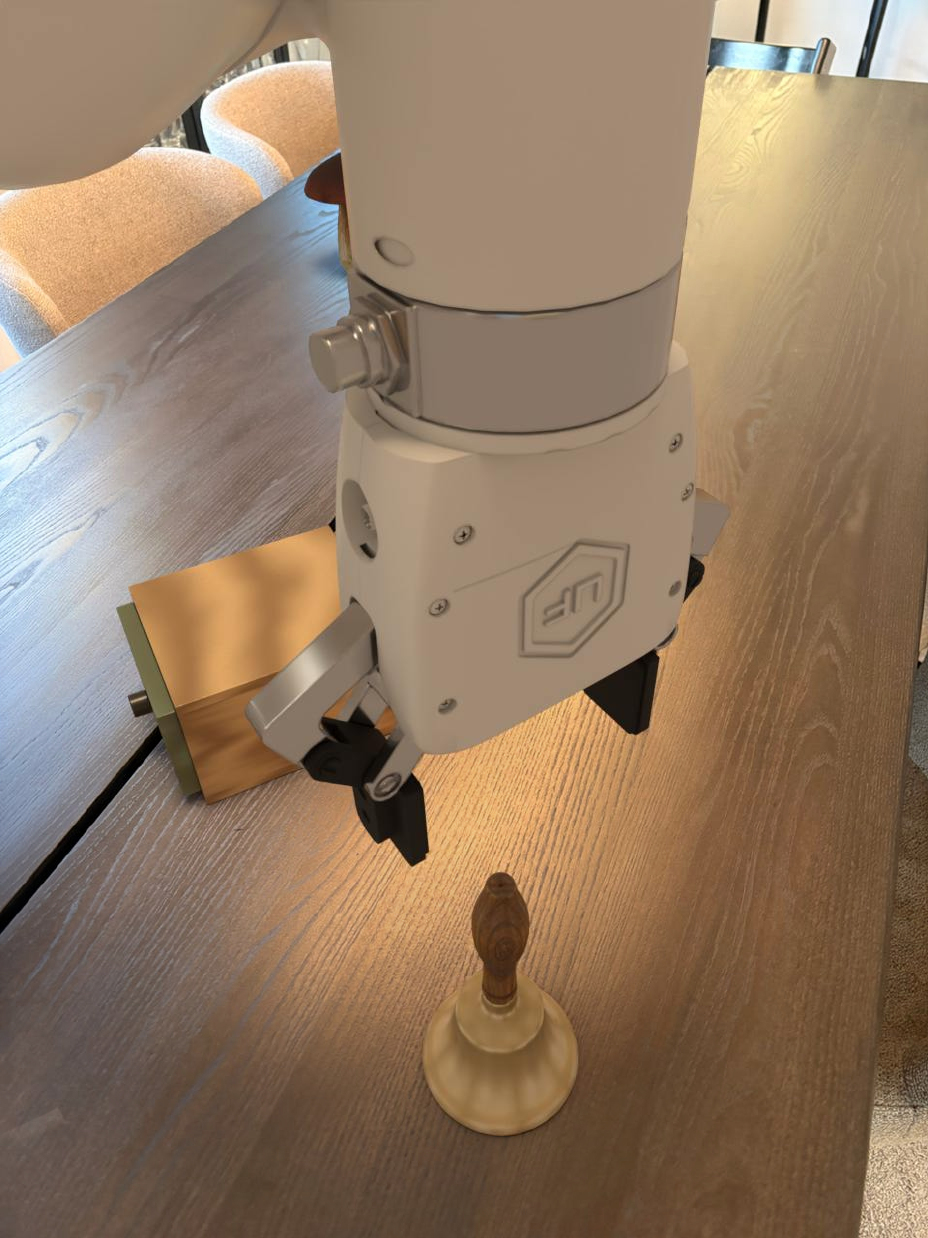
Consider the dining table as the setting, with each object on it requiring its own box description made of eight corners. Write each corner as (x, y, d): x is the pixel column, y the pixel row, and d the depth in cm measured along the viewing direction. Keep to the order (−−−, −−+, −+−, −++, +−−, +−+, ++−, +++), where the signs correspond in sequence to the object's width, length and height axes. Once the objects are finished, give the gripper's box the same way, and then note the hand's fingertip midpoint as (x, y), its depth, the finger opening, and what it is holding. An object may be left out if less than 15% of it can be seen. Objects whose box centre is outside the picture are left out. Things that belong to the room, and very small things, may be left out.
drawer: (166, 804, 62) (136, 725, 57) (127, 691, 70) (97, 612, 64) (373, 724, 67) (363, 644, 62) (316, 626, 74) (303, 548, 69)
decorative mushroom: (366, 296, 121) (354, 171, 111) (298, 278, 126) (281, 157, 115) (414, 265, 128) (407, 145, 118) (348, 250, 132) (336, 133, 122)
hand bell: (391, 1044, 51) (364, 880, 40) (506, 951, 55) (510, 778, 44) (492, 1174, 47) (493, 1027, 36) (611, 1062, 50) (644, 899, 40)
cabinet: (207, 805, 63) (175, 707, 57) (160, 683, 71) (127, 586, 65) (407, 726, 68) (399, 628, 61) (342, 621, 76) (328, 524, 70)
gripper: (252, 523, 17) (353, 980, 29) (879, 280, 24) (757, 727, 36) (114, 364, 22) (248, 812, 33) (672, 198, 29) (624, 617, 40)
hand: (511, 768), depth 35 cm, fingers open, 9 cm apart
